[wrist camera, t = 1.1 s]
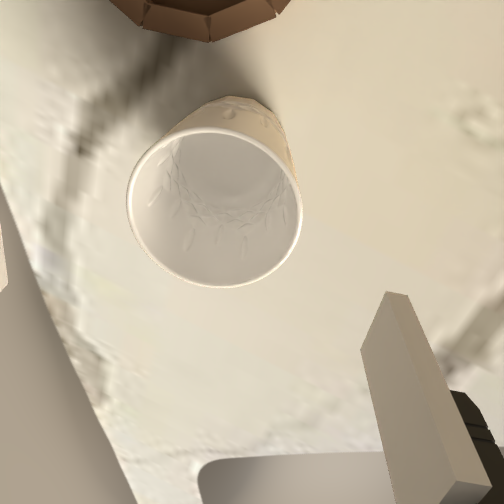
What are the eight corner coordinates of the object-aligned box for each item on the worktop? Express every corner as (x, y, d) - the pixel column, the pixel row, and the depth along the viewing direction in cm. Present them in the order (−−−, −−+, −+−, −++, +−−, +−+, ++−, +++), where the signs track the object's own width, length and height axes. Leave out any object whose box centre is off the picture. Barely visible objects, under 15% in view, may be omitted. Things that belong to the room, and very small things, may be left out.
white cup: (154, 164, 28) (98, 235, 19) (213, 57, 24) (176, 85, 16) (252, 224, 30) (241, 313, 21) (321, 132, 26) (340, 195, 18)
